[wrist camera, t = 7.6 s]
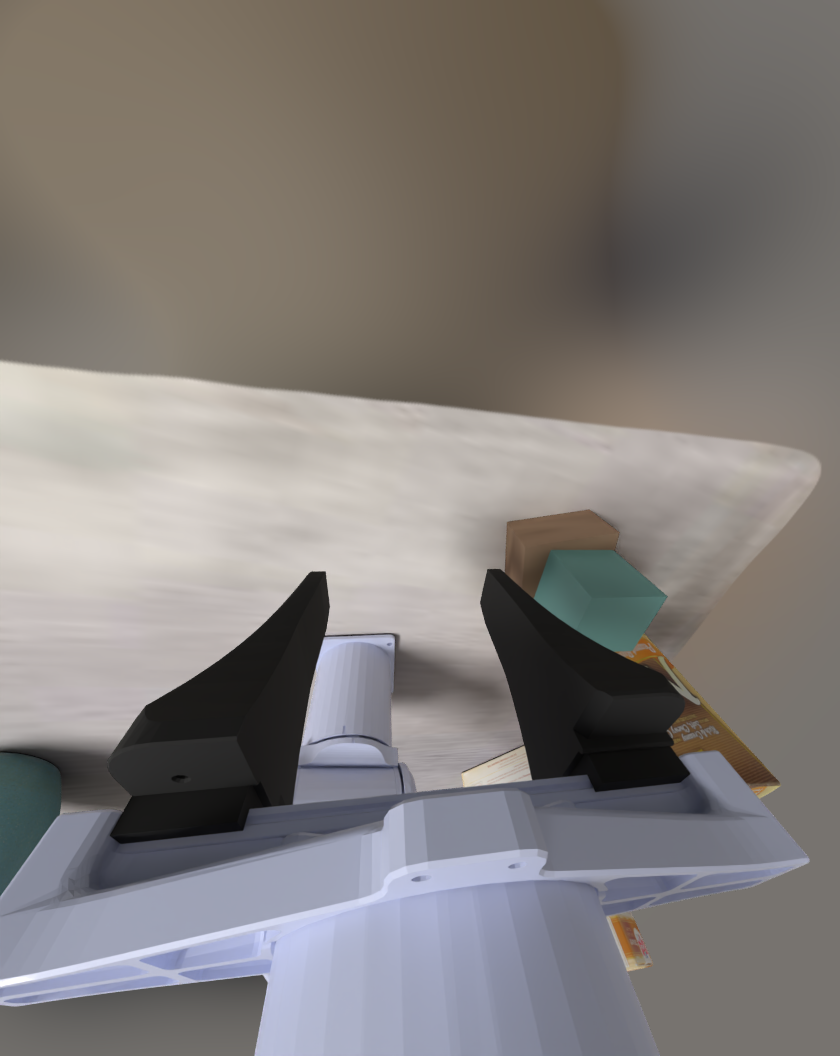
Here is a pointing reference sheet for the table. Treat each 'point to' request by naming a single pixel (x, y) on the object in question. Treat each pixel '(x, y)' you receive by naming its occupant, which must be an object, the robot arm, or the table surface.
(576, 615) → the teal cube
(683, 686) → the candy box
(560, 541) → the block
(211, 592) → the table surface
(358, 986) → the robot arm
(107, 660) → the table surface
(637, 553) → the table surface
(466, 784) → the coffeecake box
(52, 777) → the green bowl
